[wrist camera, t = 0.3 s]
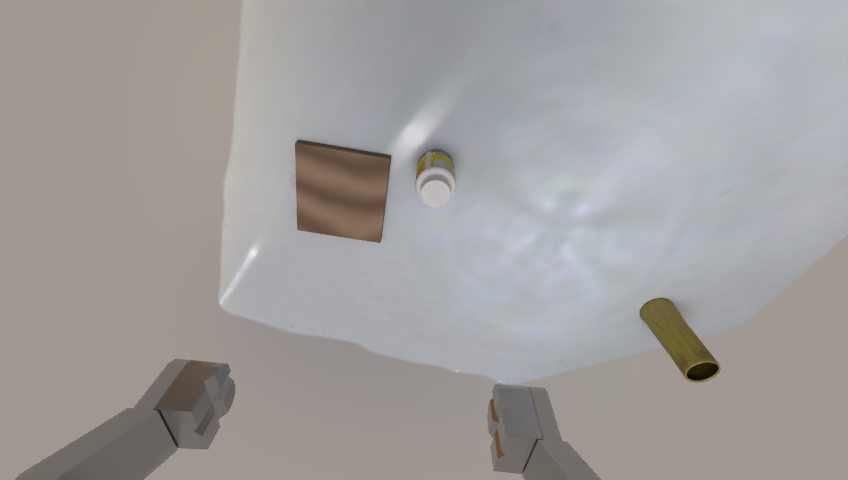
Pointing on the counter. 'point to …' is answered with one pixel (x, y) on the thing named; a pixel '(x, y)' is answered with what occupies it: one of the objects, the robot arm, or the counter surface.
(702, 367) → the vase
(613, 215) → the counter surface
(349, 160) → the walnut board
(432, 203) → the supplement bottle
